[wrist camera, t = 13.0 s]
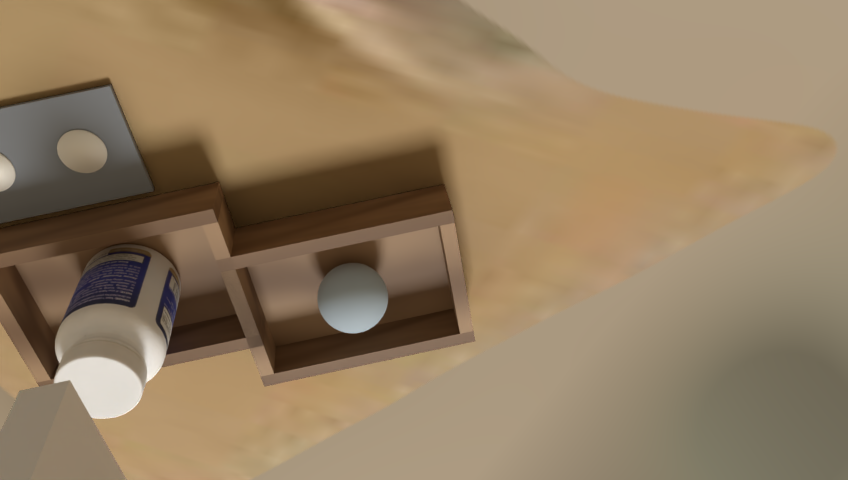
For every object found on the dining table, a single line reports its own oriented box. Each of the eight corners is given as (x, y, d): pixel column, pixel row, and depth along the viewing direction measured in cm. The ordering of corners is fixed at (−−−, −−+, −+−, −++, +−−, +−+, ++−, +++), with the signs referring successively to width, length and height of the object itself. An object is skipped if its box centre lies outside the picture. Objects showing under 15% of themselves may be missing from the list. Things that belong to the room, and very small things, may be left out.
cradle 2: (221, 231, 43) (215, 260, 40) (444, 184, 43) (452, 210, 40) (266, 353, 48) (264, 386, 45) (466, 311, 48) (475, 341, 45)
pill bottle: (65, 285, 43) (13, 395, 35) (120, 224, 41) (77, 325, 34) (147, 332, 45) (114, 444, 38) (201, 276, 44) (178, 381, 36)
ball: (309, 257, 44) (309, 298, 40) (377, 243, 44) (383, 282, 41) (326, 311, 46) (327, 354, 43) (390, 297, 46) (397, 339, 43)
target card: (-89, 125, 38) (-93, 128, 37) (111, 83, 38) (109, 86, 37) (-30, 227, 41) (-33, 231, 40) (154, 188, 41) (153, 191, 41)
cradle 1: (-15, 231, 41) (-37, 261, 38) (219, 182, 41) (212, 209, 39) (57, 358, 46) (42, 392, 43) (266, 313, 46) (263, 345, 44)
